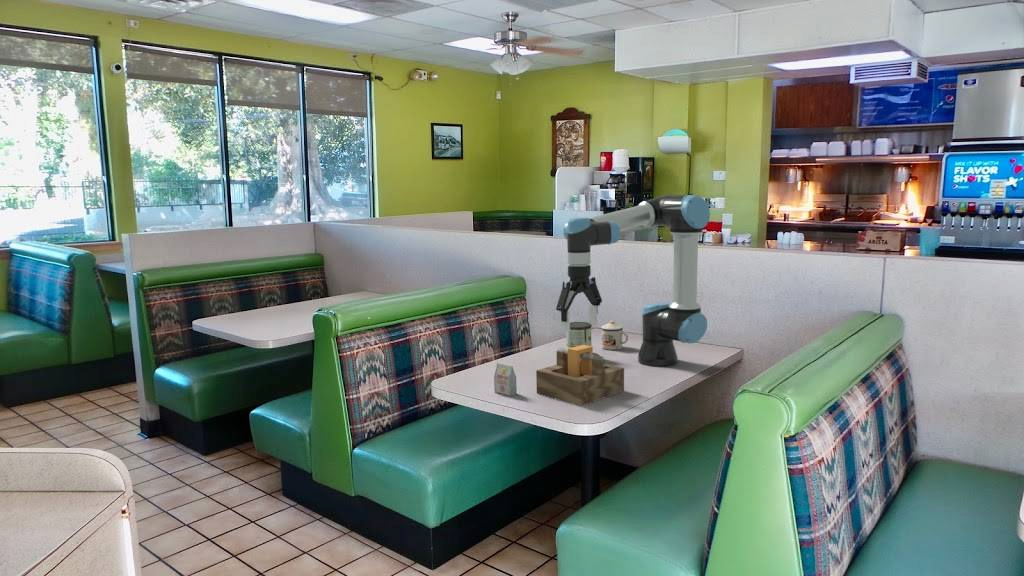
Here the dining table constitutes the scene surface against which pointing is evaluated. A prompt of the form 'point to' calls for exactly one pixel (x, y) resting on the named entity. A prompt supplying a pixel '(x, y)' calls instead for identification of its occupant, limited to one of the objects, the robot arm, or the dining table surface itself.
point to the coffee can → (578, 334)
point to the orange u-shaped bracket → (575, 361)
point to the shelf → (579, 380)
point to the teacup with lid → (612, 336)
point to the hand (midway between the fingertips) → (579, 327)
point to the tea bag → (505, 380)
